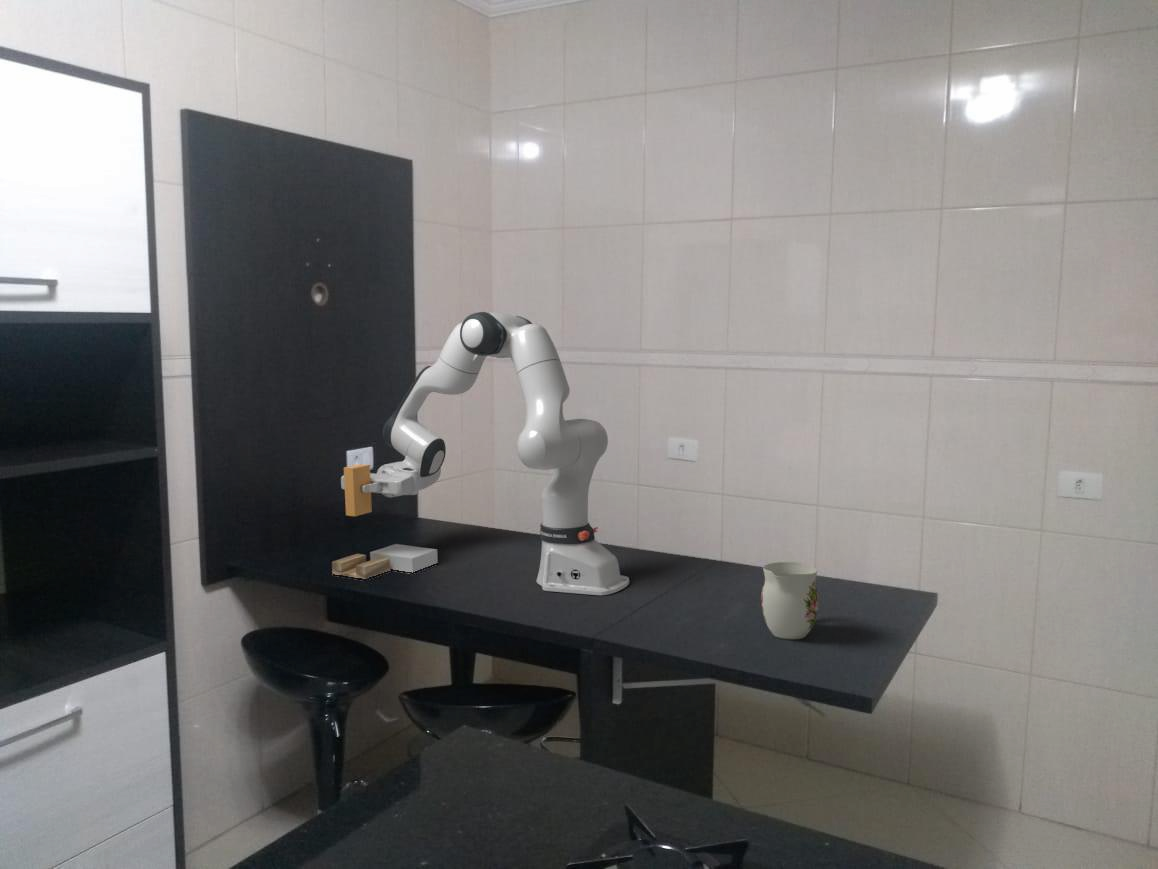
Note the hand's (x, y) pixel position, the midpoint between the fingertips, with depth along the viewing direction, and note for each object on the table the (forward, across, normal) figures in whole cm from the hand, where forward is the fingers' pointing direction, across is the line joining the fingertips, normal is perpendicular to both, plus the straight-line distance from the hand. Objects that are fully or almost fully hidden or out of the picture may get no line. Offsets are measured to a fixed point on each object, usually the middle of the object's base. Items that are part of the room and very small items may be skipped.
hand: (355, 488), depth 218 cm
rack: (-1, 0, +22) cm, 22 cm away
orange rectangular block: (-1, 0, +6) cm, 7 cm away
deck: (-11, +5, +22) cm, 25 cm away
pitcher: (-7, +108, +22) cm, 110 cm away
